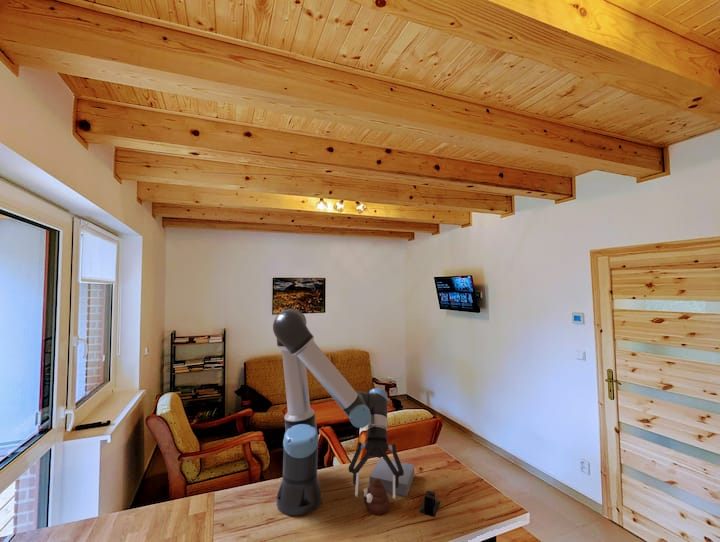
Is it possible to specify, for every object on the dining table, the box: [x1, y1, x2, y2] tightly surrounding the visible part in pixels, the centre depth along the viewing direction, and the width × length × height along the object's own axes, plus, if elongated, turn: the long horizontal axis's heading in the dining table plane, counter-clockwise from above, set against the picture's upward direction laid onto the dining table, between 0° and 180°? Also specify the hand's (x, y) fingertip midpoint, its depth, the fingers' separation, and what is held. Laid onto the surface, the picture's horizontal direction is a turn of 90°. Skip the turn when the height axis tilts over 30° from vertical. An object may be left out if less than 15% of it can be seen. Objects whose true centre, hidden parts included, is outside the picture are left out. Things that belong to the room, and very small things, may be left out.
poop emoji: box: [362, 479, 390, 515], centre depth 112 cm, size 10×8×9 cm
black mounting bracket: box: [418, 490, 442, 519], centre depth 112 cm, size 12×7×5 cm, turn 155°
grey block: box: [368, 457, 415, 497], centre depth 126 cm, size 14×14×4 cm
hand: (375, 497), depth 109 cm, fingers open, 12 cm apart
